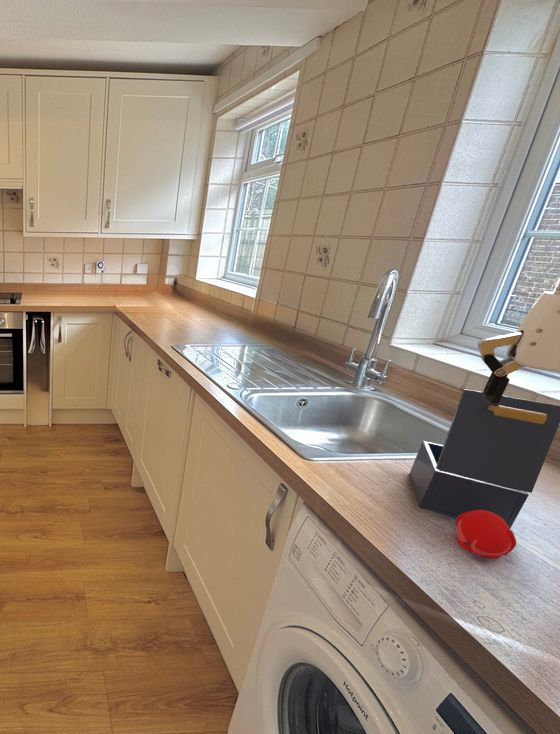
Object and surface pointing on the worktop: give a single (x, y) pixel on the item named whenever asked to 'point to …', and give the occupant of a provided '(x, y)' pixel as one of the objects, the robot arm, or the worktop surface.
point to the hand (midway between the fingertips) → (538, 409)
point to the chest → (460, 489)
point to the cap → (484, 534)
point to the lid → (499, 439)
